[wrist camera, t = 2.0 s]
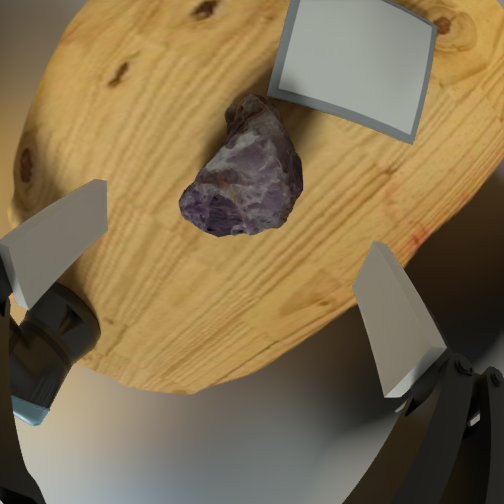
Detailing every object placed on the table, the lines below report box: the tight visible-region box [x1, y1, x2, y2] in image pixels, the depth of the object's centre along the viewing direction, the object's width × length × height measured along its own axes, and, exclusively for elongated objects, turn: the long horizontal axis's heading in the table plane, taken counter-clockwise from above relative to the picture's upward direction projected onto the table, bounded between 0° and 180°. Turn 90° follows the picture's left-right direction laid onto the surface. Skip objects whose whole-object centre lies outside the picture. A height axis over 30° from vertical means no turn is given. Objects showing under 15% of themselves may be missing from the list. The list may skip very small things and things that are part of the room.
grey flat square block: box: [267, 0, 437, 145], centre depth 18 cm, size 14×14×3 cm
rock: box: [179, 93, 303, 237], centre depth 22 cm, size 12×9×10 cm
